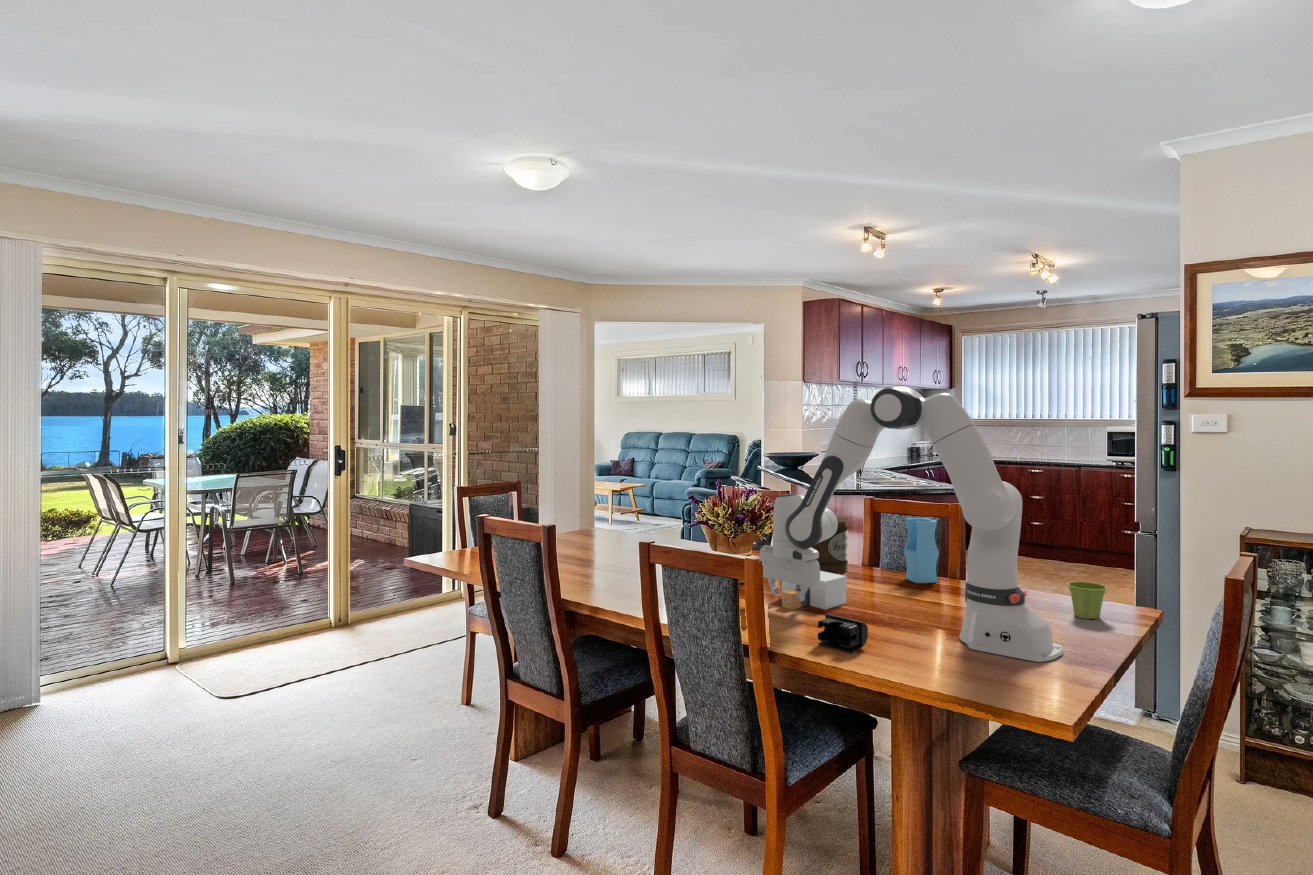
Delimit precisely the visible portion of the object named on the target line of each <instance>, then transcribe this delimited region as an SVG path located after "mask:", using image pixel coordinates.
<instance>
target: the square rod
mask: <svg viewBox="0 0 1313 875" xmlns="http://www.w3.org/2000/svg"><path fill="white" fill-rule="evenodd" d="M800 592H801V589H799V590H788V591H784V592H782V591H781V604H782V605H781V607H782V608H786V609H789V610H795V609H799V608H802V607H804V606H807V605H808V606H810V588H808V590H807V592H806V594H805V600H804V601H799V600H797V594H800Z"/></svg>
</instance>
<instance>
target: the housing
mask: <svg viewBox="0 0 1313 875" xmlns="http://www.w3.org/2000/svg"><path fill="white" fill-rule="evenodd" d="M847 582H848V581H847V576H846V575H843V574H833V573H829V572H824V571H820V583H819V585H818V586H817V587H813V588H810V604H809V606H811V607H814V608H817V609H818V608H819V609H822V610H828V609H832V608H835V607H839V606H842V605H845V604H847V584H848V583H847ZM799 589H800V585H796V584H792V583H788V582H784V581H781V593H782V592H784V591H788V590H799Z"/></svg>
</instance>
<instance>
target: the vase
mask: <svg viewBox="0 0 1313 875" xmlns="http://www.w3.org/2000/svg"><path fill="white" fill-rule="evenodd" d="M904 522H905V525H906V528H907V530H906V531H907V540H906V543H905V545H904V548H903V552H904V557H905V561H906V574H905V579H906V580H909V581H910V582H912V583H915V584H928V583H929V584H930V583H931V584H932V583H939V579H938V576H937V563H938V559H939V555H940V552H939V548H938V546H937V543H936V537H935V536H936V534H935V533H936V528H937V524H938V521H937V520H934V519H931V518H926V517H919V518H918V517H917V518H914V517H913V518H904Z"/></svg>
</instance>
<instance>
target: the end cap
mask: <svg viewBox="0 0 1313 875" xmlns="http://www.w3.org/2000/svg"><path fill="white" fill-rule="evenodd" d="M824 617H825V618H824V619H820V620H818V621H817V628H818V629H820V628H824V629H823V630H822V631H819V632H817V640H819V642H818V646H820V647H823V648H828V649H831V650H836V651H839V652H843V653H846V654H855V653H856V652H858V651H860V650H861V649H862V648H864V646H865V645H866V643H867V641H868V636H869V629H868V625H867V624H866V623H865V622H864V621H859V620H856V619H851V618H847V617H843V616H839V615H834V614H830V613H826V614H825V615H824Z"/></svg>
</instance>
